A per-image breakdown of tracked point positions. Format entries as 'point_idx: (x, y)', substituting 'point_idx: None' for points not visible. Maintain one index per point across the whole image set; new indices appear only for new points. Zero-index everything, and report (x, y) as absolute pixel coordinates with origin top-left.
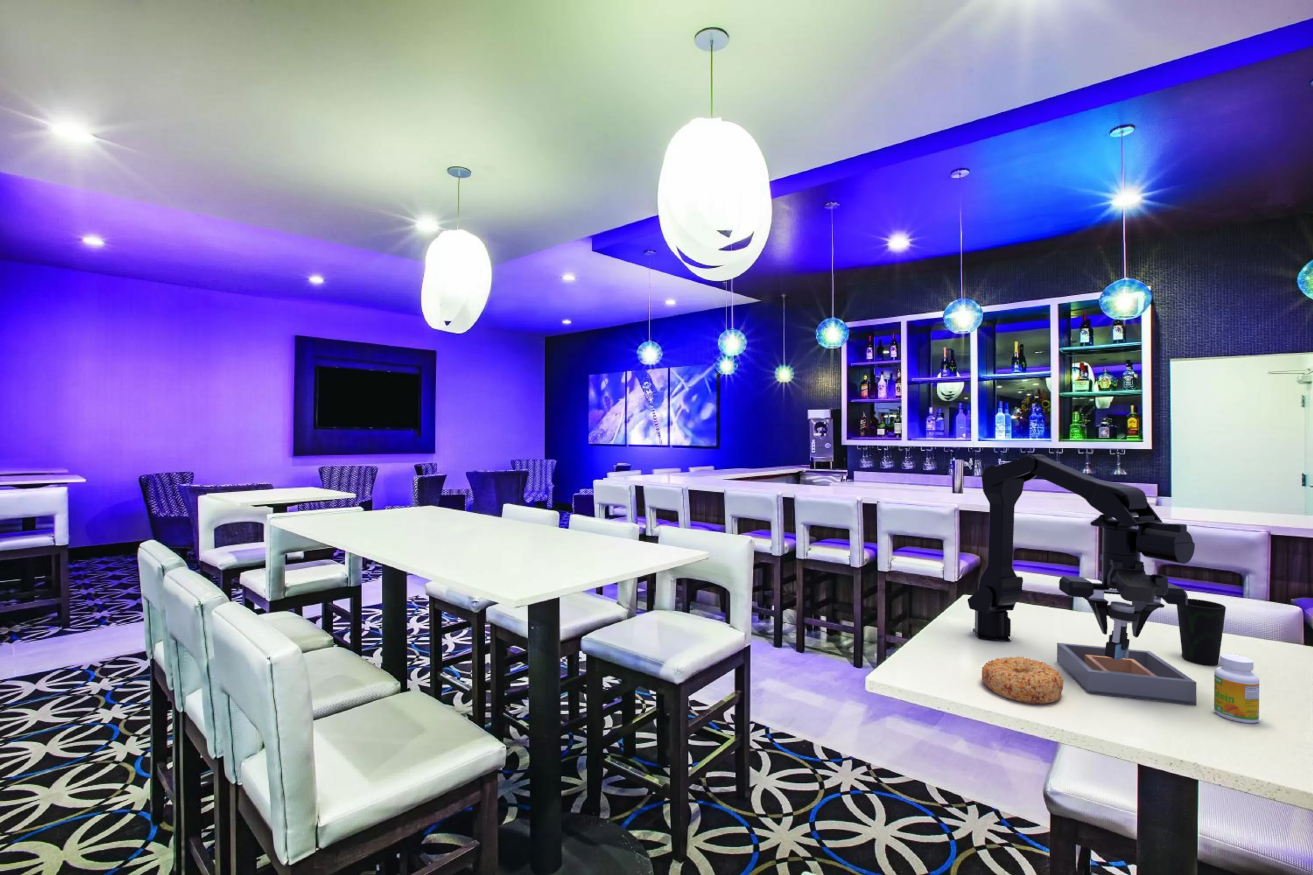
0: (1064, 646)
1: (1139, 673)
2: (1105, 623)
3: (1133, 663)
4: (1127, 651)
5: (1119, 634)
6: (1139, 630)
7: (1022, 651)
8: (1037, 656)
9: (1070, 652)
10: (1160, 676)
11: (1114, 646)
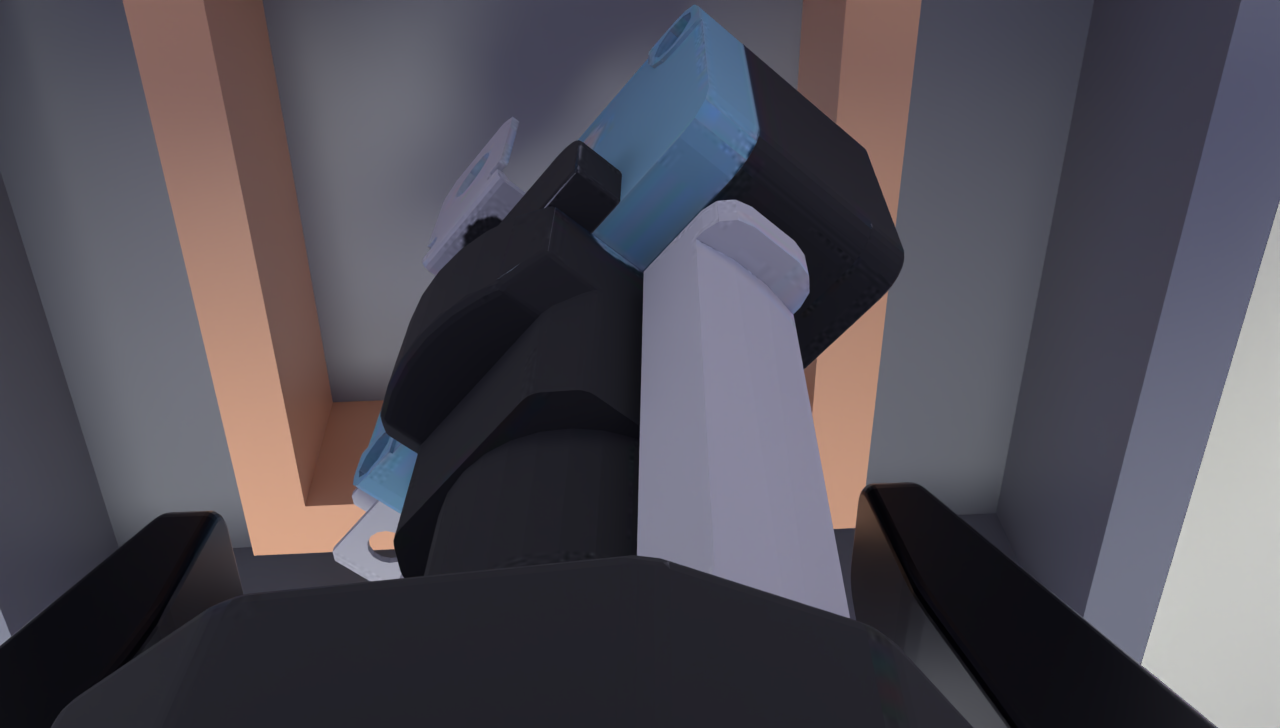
0: (1113, 603)
1: (277, 212)
2: (1021, 658)
3: (293, 419)
4: (469, 202)
5: (674, 352)
6: (75, 621)
7: (1239, 715)
8: (1159, 630)
9: (1183, 380)
10: (6, 269)
11: (773, 147)
